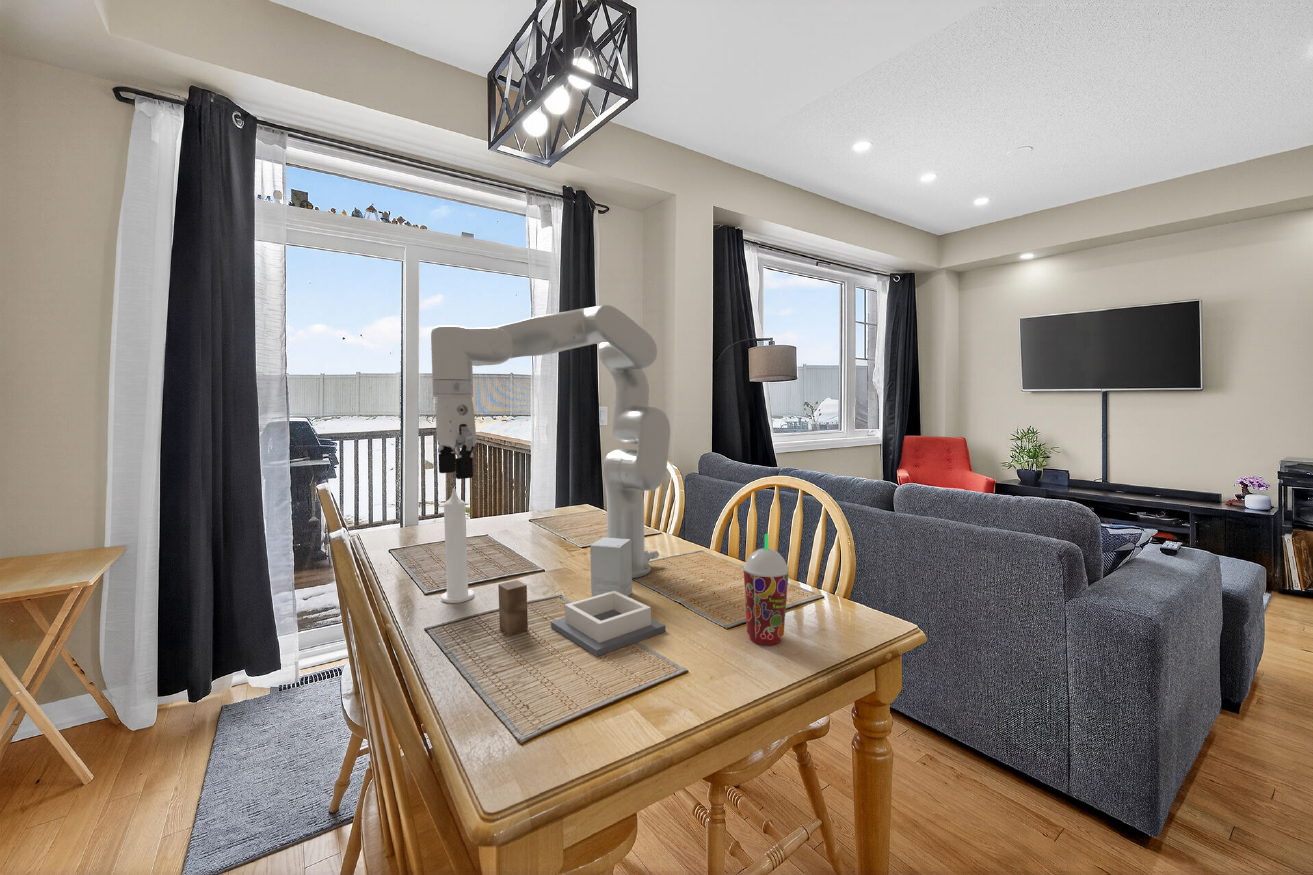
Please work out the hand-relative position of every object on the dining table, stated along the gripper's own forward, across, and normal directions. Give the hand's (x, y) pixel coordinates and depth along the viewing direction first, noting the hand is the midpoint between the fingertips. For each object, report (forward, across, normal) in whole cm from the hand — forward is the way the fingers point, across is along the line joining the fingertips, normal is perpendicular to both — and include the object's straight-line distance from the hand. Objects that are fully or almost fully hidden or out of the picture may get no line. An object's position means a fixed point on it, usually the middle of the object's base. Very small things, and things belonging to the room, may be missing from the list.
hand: (455, 475), depth 113 cm
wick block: (+30, -12, -6) cm, 33 cm away
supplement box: (+30, -9, -32) cm, 44 cm away
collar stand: (+30, -23, -21) cm, 43 cm away
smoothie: (+30, -46, -41) cm, 68 cm away
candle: (+30, +12, -4) cm, 33 cm away
